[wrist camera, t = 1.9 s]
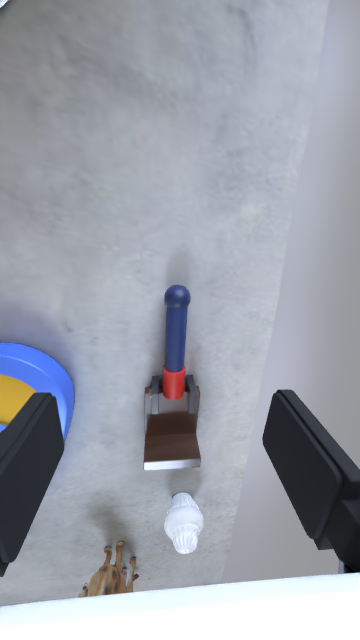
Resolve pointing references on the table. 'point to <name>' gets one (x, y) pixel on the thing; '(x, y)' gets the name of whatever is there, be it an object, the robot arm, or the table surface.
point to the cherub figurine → (2, 2)
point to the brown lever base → (171, 428)
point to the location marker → (32, 382)
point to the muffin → (183, 523)
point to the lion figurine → (110, 577)
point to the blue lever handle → (175, 341)
